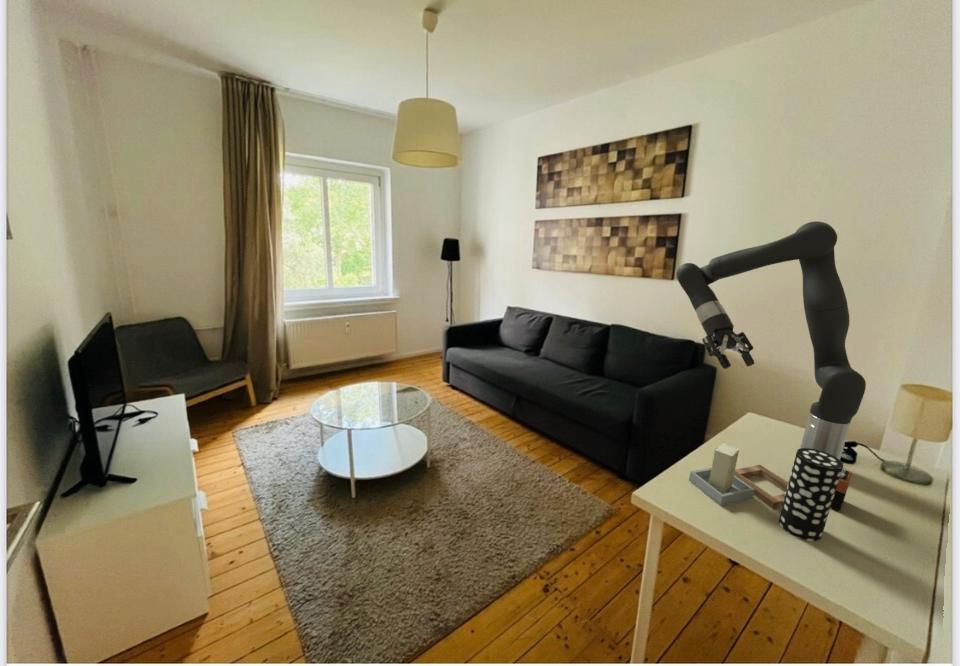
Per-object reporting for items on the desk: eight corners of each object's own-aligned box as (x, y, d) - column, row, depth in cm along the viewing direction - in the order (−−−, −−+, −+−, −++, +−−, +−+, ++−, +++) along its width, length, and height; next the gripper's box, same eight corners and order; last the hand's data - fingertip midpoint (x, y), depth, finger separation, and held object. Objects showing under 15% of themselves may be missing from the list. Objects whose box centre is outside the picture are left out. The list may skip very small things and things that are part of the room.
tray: (719, 474, 116) (720, 465, 115) (752, 498, 106) (754, 489, 105) (688, 480, 113) (690, 471, 112) (720, 506, 103) (722, 496, 102)
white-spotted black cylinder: (771, 514, 100) (789, 446, 95) (807, 518, 99) (827, 449, 93) (790, 538, 92) (810, 466, 87) (829, 543, 91) (853, 470, 85)
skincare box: (724, 495, 106) (732, 457, 103) (706, 487, 109) (714, 449, 106) (732, 486, 110) (740, 448, 107) (715, 478, 113) (722, 441, 110)
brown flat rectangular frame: (758, 470, 118) (760, 464, 117) (806, 501, 105) (808, 494, 104) (727, 476, 115) (728, 470, 114) (772, 509, 102) (774, 502, 101)
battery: (818, 503, 104) (827, 471, 101) (822, 492, 108) (832, 461, 106) (839, 512, 101) (850, 479, 98) (843, 500, 105) (853, 469, 103)
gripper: (703, 313, 114) (729, 363, 107) (741, 311, 118) (769, 358, 111) (686, 326, 121) (710, 373, 113) (723, 323, 124) (748, 369, 117)
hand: (739, 366), depth 112 cm, fingers open, 8 cm apart
